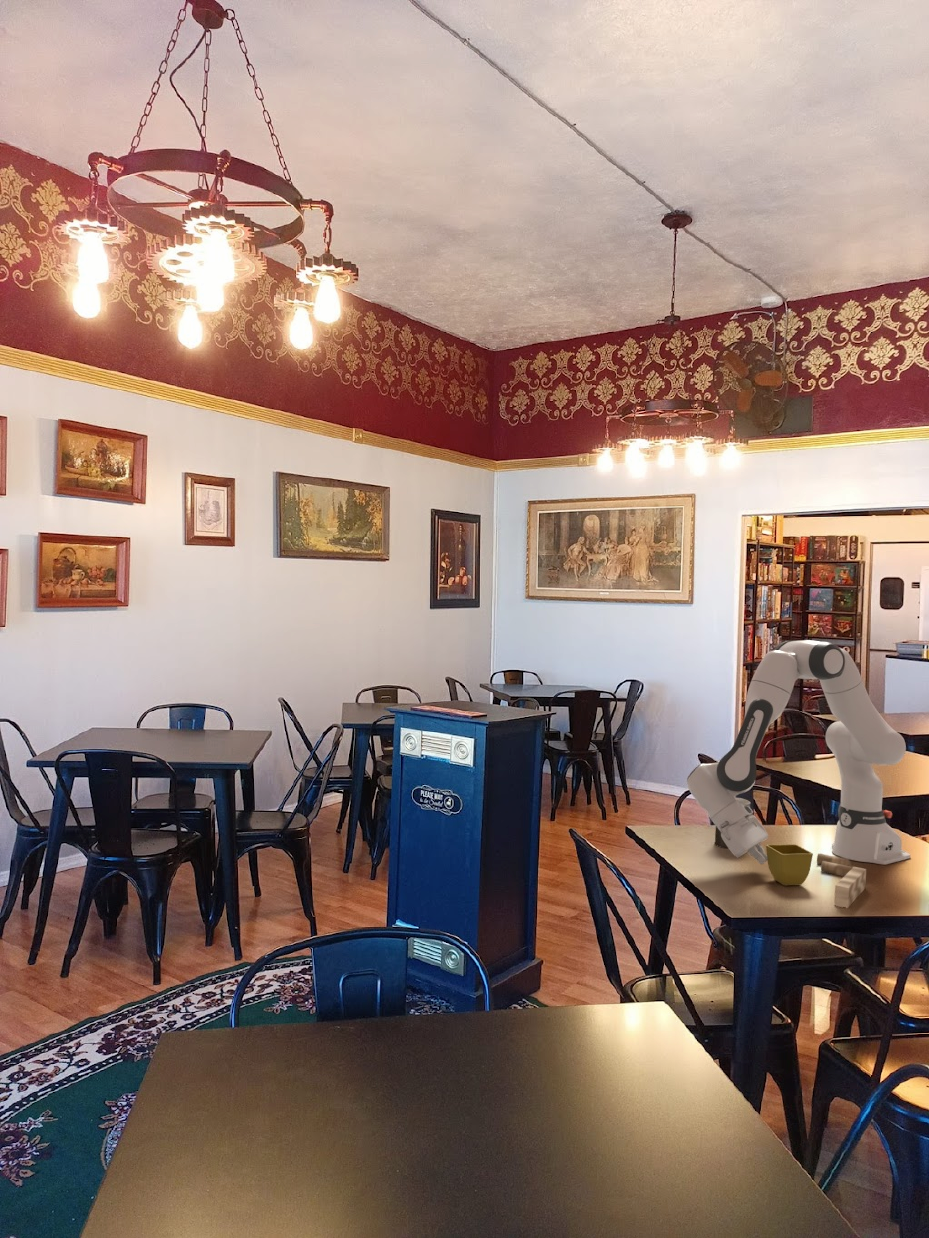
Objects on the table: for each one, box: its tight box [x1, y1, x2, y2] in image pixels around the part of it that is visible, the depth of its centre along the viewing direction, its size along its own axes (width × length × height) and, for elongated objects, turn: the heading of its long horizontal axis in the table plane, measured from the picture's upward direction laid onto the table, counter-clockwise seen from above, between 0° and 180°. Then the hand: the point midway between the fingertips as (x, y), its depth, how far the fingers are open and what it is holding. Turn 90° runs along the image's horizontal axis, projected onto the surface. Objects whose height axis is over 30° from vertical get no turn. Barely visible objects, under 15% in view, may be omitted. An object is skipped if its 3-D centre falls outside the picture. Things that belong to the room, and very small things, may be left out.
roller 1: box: [816, 853, 851, 866], centre depth 248 cm, size 8×3×3 cm
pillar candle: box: [714, 796, 751, 850], centre depth 266 cm, size 10×10×15 cm
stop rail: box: [834, 866, 867, 909], centre depth 223 cm, size 20×3×5 cm, turn 144°
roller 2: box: [820, 861, 854, 877], centre depth 241 cm, size 8×3×3 cm, turn 54°
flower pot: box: [765, 843, 814, 887], centre depth 232 cm, size 9×9×9 cm
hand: (765, 861), depth 235 cm, fingers closed, pressing on flower pot
